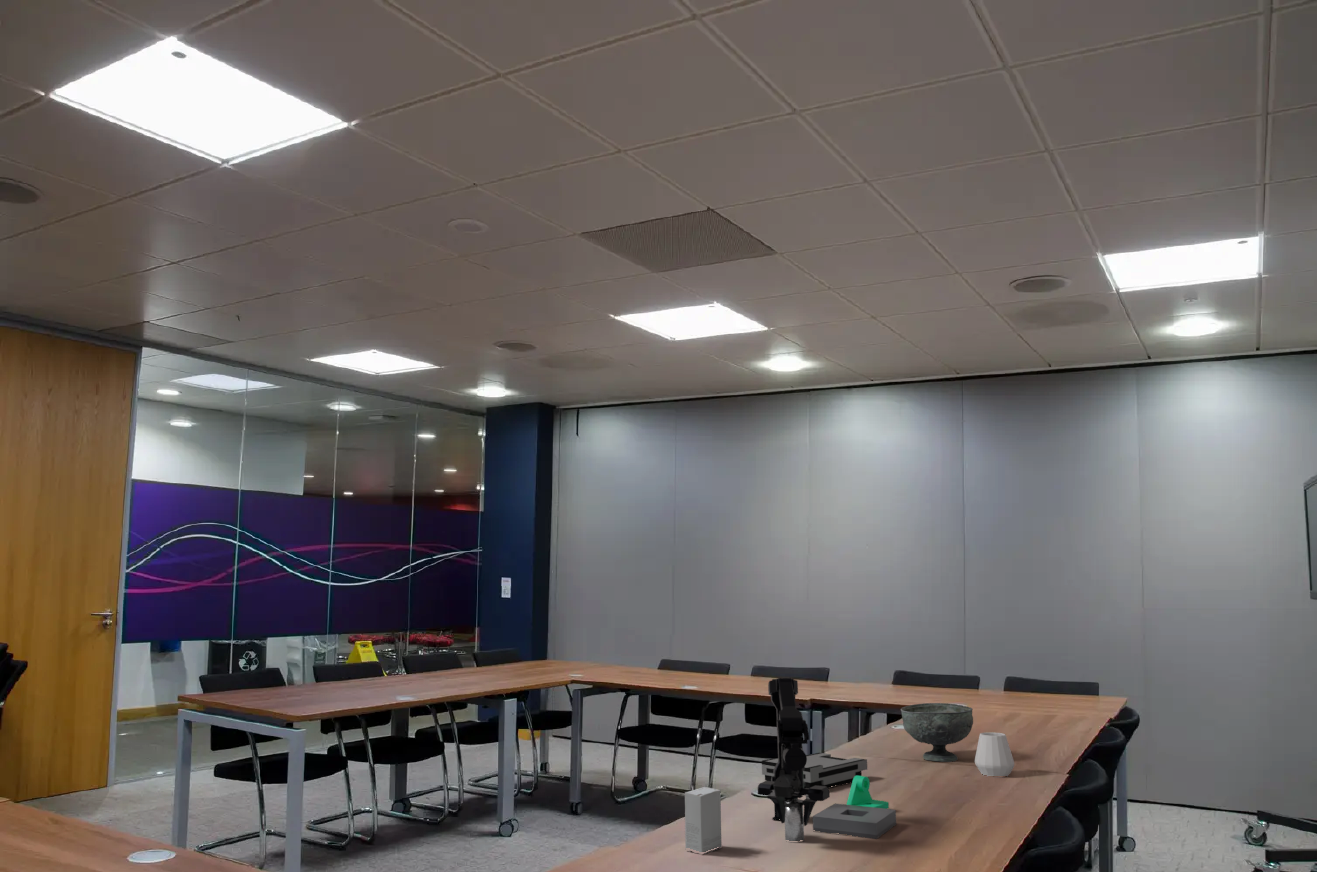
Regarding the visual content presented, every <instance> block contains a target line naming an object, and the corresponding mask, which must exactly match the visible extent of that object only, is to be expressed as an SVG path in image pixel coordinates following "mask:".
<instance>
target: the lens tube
mask: <svg viewBox="0 0 1317 872" xmlns="http://www.w3.org/2000/svg"><path fill="white" fill-rule="evenodd" d="M803 800H804V799H801V798H798V799H785V800H783V805H784V814H785V822H784V840H789V841H800V840H804V841H805V828H804V827H805V826H804V804H803Z"/></svg>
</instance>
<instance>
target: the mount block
mask: <svg viewBox="0 0 1317 872" xmlns="http://www.w3.org/2000/svg"><path fill="white" fill-rule="evenodd" d="M846 804H847V803H846ZM846 804H843V803H833V804H831V805H830V806H827V807H826V808H824V809H823V810H821V811H819V812H818V813H816V814H814V815H812V831H813V830H815V831H820V832H819V833H822V832H827V833H826V834H831V833H839V834H847V835H852V836H851V837H856V836H858V838H864V837H865V839H875V840H877V839H879V838H881V837H882V836H883V835H884V834H886V833H887V832H888V831H890V830H891V829H892V828H894V827H896V825H897V814H896V811H897V810H896V809H892V808H887V809H884V808H874V807H865V806H855V805H846ZM893 826H894V827H893ZM839 834H838V835H839ZM882 834H883V835H882ZM847 835H846V836H847ZM881 835H882V836H881Z"/></svg>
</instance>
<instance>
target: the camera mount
mask: <svg viewBox="0 0 1317 872" xmlns="http://www.w3.org/2000/svg"><path fill="white" fill-rule="evenodd" d="M870 782H871V781H870V778H869V777H868V776H863V775H862V776H857V775H856V776H855V777H854V778H853V781H852V783H851V786H850V789H849V793H848V798H847V802H846V805H855V806H865V807H874V808H884V809H890V807H889V806H890V805H889V801H885V800H878V799H873V798H872V796H871V793H870V790H869V789H870V786H871V784H870Z"/></svg>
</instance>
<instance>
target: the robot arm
mask: <svg viewBox="0 0 1317 872" xmlns="http://www.w3.org/2000/svg"><path fill="white" fill-rule="evenodd" d="M767 687H768V692H767V693H768V696H770V700H771V703H772V704H773V707H775V709H776V710H775V711H776V734H777V735H776V737H777V759H778V762H777V764H776V766H775V768H774V770H773V776H772V777H771V781H766V780H764V781H762V782H760V783H758V785H757V795H758V796H766V798H767V799H768V800H771V802H773V805H774V807H773V808H774V810H773V811H774V816H773V817H772V818H771V819H772V820H773V819H780V820H781V821H780V820H779V821H780V822H781V824H785V814H784V805H783V800H785V799H801V798H803V797H804V796H805V799H802V800H803V804H804V805H803V820H804V827H806V826H807V825H808V823H809V820H810V817H811V815H812V811H813V809H814V807H815V805H816V803H817V802H824V801H825V800H828V799H829V798H830V796H831V794H830V788H828V787H826V786H816V785H815V786H813V787H811V788H804V787H805V782H804V778H803V771H805V767H804V766H805V765H806V762H807V757H806V755H807V754H806V753H805V751H804V749H803V745H807V744H808V741H809V740H810V735H809V725H808V723H807V721H806V720H805V719H804V718H803V713H802V711H800V710H799V709H797V703H796V695H799V685H798V680H797V679H794V678H792V677H788V676H787V677H778V678H773V679H771V680H769V681H768V685H767Z"/></svg>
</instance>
